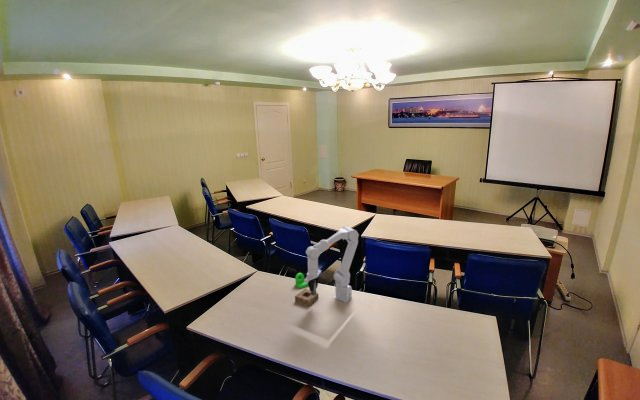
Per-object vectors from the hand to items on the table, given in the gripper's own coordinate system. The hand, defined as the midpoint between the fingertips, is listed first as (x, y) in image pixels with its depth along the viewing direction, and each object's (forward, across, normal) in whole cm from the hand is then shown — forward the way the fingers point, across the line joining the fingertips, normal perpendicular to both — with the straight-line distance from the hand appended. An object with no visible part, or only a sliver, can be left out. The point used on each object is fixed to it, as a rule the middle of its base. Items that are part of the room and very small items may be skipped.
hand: (313, 289), depth 164 cm
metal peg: (+3, 0, 0) cm, 3 cm away
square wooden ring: (+10, -2, -6) cm, 12 cm away
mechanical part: (+10, -17, -18) cm, 27 cm away
